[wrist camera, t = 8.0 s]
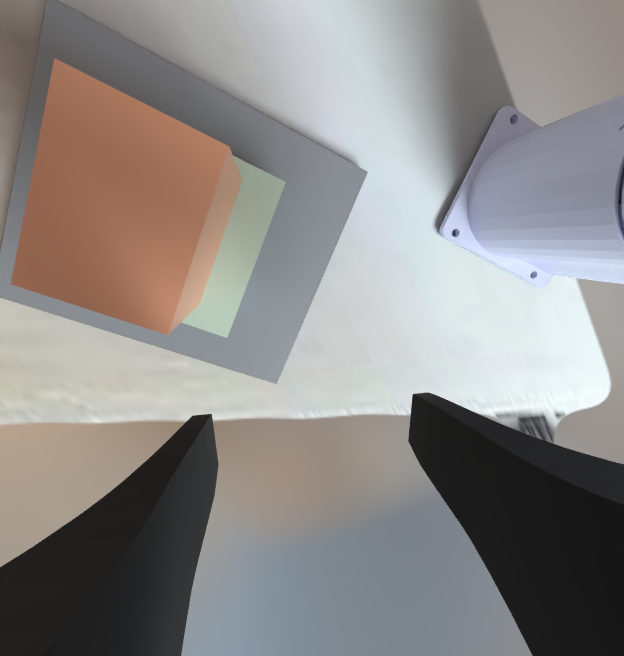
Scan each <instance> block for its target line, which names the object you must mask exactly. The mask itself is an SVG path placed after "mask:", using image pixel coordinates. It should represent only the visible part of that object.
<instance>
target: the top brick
mask: <svg viewBox="0 0 624 656" xmlns="http://www.w3.org/2000/svg"><path fill="white" fill-rule="evenodd" d="M241 183H242V179H241V176H240V174H239V171H238V168H237V166H236V163H235V160H234V158H233V155H232V152H231V149H230V147H229V146H228V145H226V144H224V143H222V142H220V141H218V140H216V139H214V138H212V137H210V136H208V135H206V134H204V133H202V132H200V131H198V130H196V129H194V128H192V127H190V126H188V125H186V124H184V123H182V122H180V121H178V120H176V119H174V118H172V117H170V116H168V115H166V114H164V113H162V112H160V111H158V110H156V109H154V108H152V107H150V106H148V105H146V104H145V103H143V102H141V101H139V100H137V99H135V98H133V97H131V96H129V95H127V94H125V93H123V92H121V91H119V90H117V89H115V88H113V87H111V86H109V85H107V84H105V83H103V82H101V81H99V80H97V79H95V78H93V77H91V76H89V75H87V74H85V73H83V72H81V71H79V70H77V69H75V68H73V67H71V66H69V65H67V64H65V63H63V62H61V61H59V60H57V59H55V58H54V63H53V68H52V73H51V78H50V83H49V88H48V94H47V99H46V104H45V109H44V114H43V119H42V125H41V130H40V135H39V140H38V145H37V150H36V156H35V161H34V166H33V171H32V176H31V181H30V186H29V192H28V197H27V202H26V207H25V212H24V217H23V223H22V228H21V233H20V238H19V243H18V248H17V254H16V259H15V264H14V269H13V274H12V279H11V285H14V286H17V287H20V288H24V289H27V290H30V291H33V292H36V293H39V294H42V295H45V296H48V297H51V298H55V299H58V300H61V301H64V302H67V303H70V304H73V305H76V306H79V307H82V308H85V309H89V310H92V311H95V312H98V313H101V314H104V315H107V316H110V317H113V318H116V319H119V320H123V321H126V322H129V323H132V324H135V325H138V326H141V327H144V328H147V329H150V330H154V331H157V332H160V333H163V334H166V335H169V334H170V333H171V332H172V331H173V330H174V329H175V328H176V327H177V326H178V325H179V324H180V323H181V322H182V321H183V320H184V319H185V318H186V317H187V316H188V315H189V314H190V313H191V312H192V311H193V310H194V309H195V308H196V307H197V306H198V305H199V304H200V302H201V299H202V296H203V294H204V291H205V288H206V285H207V282H208V279H209V276H210V273H211V270H212V267H213V264H214V261H215V259H216V256H217V253H218V250H219V247H220V244H221V241H222V238H223V235H224V232H225V229H226V226H227V223H228V221H229V218H230V215H231V212H232V209H233V206H234V203H235V200H236V197H237V194H238V191H239V188H240V185H241Z"/></svg>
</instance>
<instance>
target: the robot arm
mask: <svg viewBox="0 0 624 656" xmlns="http://www.w3.org/2000/svg"><path fill="white" fill-rule="evenodd" d="M510 118H512V119H513V123H512V124H511V122H510ZM453 230H455V231H456V234H455V236H454V237H453V236H452V231H453ZM439 233H440V235H441V236H442V237H443V238H445V239H447V240H449V241H451V242H453V243H455V244H457V245H458V246H460V247H462V248H464V249H466V250H468V251H470V252H472V253H474V254H476V255H477V256H479V257H481V258H483V259H485V260H487V261H489V262H491V263H493V264H494V265H496V266H498V267H500V268H502V269H504V270H506V271H508V272H510V273H512V274H513V275H515V276H517V277H519V278H521V279H523V280H525V281H527V282H529V283H531V284H532V285H534V286H537V287H545V286H546V285H547V284H548V283H549V281H550V279H551V278H552V276H553V275H554V276H563V277H571V278H579V279H588V280H596V281H604V282H613V283H621V284H624V94H622V95H619V96H617V97H614V98H612V99H610V100H608V101H605V102H602V103H600V104H597V105H595V106H593V107H590V108H588V109H585V110H583V111H580V112H578V113H576V114H573V115H570V116H568V117H566V118H563V119H561V120H558V121H556V122H553V123H551V124H548V125H546V126H544V127H540V126H538V125H537V124H535V123H534V122H533V121H531V120H530V119H529V118H527V117H526V116H524V115H523V114H522V113H520V112H519V111H517V110H516V109H515V108H513V107H512V106H509V105H508V106H505V107H503V108H501V109H500V110H499V111H498V112H497V114H496V116H495V118H494V120H493V122H492V124H491V126H490V128H489V130H488V132H487V134H486V136H485V138H484V140H483V142H482V144H481V146H480V148H479V150H478V152H477V154H476V156H475V158H474V160H473V162H472V164H471V166H470V168H469V170H468V172H467V174H466V176H465V178H464V180H463V182H462V184H461V186H460V188H459V190H458V192H457V194H456V196H455V198H454V200H453V202H452V204H451V206H450V208H449V210H448V212H447V214H446V216H445V218H444V220H443V222H442V224H441V226H440V229H439ZM531 273H532V276H530V275H531ZM409 443H410V445H411V447H412V449H413V451H414V453H415V455H416V457H417V459H418V461H419V463H420V465H421V467H422V468H423V469H424V471H425V472H426V474H427V476H428V477H429V479H430V480H431V482H432V483H433V485H434V486H435V487H436V489H437V490H438V492H439V493H440V495H441V496H442V498H443V499H444V501H445V502H446V503H447V505H448V506H449V508H450V509H451V511H452V512H453V514H454V515H455V517H456V518H457V519H458V521H459V522H460V524H461V525H462V527H463V528H464V530H465V532H466V533H467V535H468V536H469V538H470V539H471V541H472V543H473V544H474V546H475V548H476V550H477V551H478V553H479V555H480V557H481V559H482V560H483V562H484V564H485V566H486V567H487V569H488V571H489V573H490V574H491V576H492V578H493V580H494V582H495V584H496V586H497V587H498V589H499V591H500V593H501V595H502V597H503V599H504V601H505V603H506V604H507V606H508V608H509V610H510V612H511V613H512V616H513V618H514V619H515V622H516V624H517V626H518V628H519V630H520V632H521V634H522V635H523V637H524V639H525V641H526V643H527V645H528V647H529V649H530V651H531V653H532V655H533V656H624V464H619V463H616V462H612V461H608V460H605V459H601V458H598V457H594V456H591V455H587V454H583V453H580V452H577V451H574V450H570V449H567V448H564V447H561V446H558V445H555V444H552V443H549V442H547V441H544V440H541V439H538V438H535V437H532V436H530V435H527V434H524V433H522V432H519V431H517V430H514V429H512V428H509V427H507V426H505V425H502V424H499V423H497V422H495V421H493V420H490V419H488V418H486V417H484V416H481V415H479V414H477V413H475V412H472V411H470V410H468V409H466V408H464V407H462V406H459V405H457V404H455V403H453V402H450V401H448V400H446V399H444V398H441V397H439V396H436V395H434V394H431V393H419V394H413V397H412V408H411V418H410V430H409ZM217 471H218V459H217V451H216V443H215V436H214V428H213V421H212V414H206V415H196V416H192V417H191V418H190V419H189V420H188V421H187V422H186V423H185V424H184V425H183V426H182V427H181V428H180V429H179V430H178V431H177V432H176V433H175V434H174V435H173V436H172V437H171V438H170V439H169V440H168V441H167V442H166V443H165V444H164V445H163V446H162V447H161V448H160V449H159V450H158V451H156V452H155V453H154V454H153V455H152V456H151V457H150V458H149V459H148V460H147V461H146V462H144V463H143V464H142V465H141V466H140V467H139V468H138V469H137V470H135V471H134V472H133V473H132V474H131V475H130V476H129V477H128V478H126V479H125V480H124V481H123V482H122V483H120V484H119V485H118V486H117V487H116V488H114V489H113V490H112V491H111V492H109V493H108V494H107V495H106V496H104V497H103V498H102V499H101V500H99V501H98V502H96V503H95V504H94V505H92V506H91V507H90V508H88V509H87V510H86V511H84V512H83V513H82V514H80V515H79V516H78V517H76V518H75V519H73V520H72V521H70V522H69V523H67V524H66V525H64V526H63V527H61V528H60V529H59V530H57V531H56V532H54V533H53V534H51V535H50V536H48V537H47V538H45V539H44V540H42V541H41V542H39V543H38V544H36V545H35V546H34V547H32V548H31V549H29V550H27V551H26V552H24V553H22V554H21V555H19V556H18V557H16V558H14V559H13V560H11V561H10V562H8V563H7V564H5V565H4V566H2V567H0V656H181V652H182V646H183V639H184V633H185V627H186V620H187V614H188V608H189V602H190V596H191V590H192V585H193V580H194V576H195V571H196V567H197V563H198V558H199V555H200V551H201V547H202V543H203V539H204V535H205V531H206V527H207V523H208V519H209V515H210V511H211V507H212V502H213V499H214V494H215V487H216V479H217Z"/></svg>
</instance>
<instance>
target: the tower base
mask: <svg viewBox="0 0 624 656" xmlns="http://www.w3.org/2000/svg"><path fill="white" fill-rule="evenodd" d="M54 58H55V59H57V60H59V61H61V62H63V63H65V64H67V65H69V66H71V67H73V68H75V69H77V70H79V71H81V72H83V73H85V74H87V75H89V76H91V77H93V78H95V79H97V80H99V81H101V82H103V83H105V84H107V85H109V86H111V87H113V88H115V89H117V90H119V91H121V92H123V93H125V94H127V95H129V96H131V97H133V98H135V99H137V100H139V101H141V102H143V103H145V104H146V105H148V106H150V107H152V108H154V109H156V110H158V111H160V112H162V113H164V114H166V115H168V116H170V117H172V118H174V119H176V120H178V121H180V122H182V123H184V124H186V125H188V126H190V127H192V128H194V129H196V130H198V131H200V132H202V133H204V134H206V135H208V136H210V137H212V138H214V139H216V140H218V141H220V142H222V143H224V144H226V145H228V146H229V147H230V149H231V152H232V155H233V158H234V160H235V163H236V166H237V168H238V171H239V174H240V176H241V179H242V183H241V185H240V188H239V191H238V194H237V197H236V200H235V203H234V206H233V209H232V212H231V215H230V218H229V221H228V223H227V226H226V229H225V232H224V235H223V238H222V241H221V244H220V247H219V250H218V253H217V256H216V259H215V261H214V264H213V267H212V270H211V273H210V276H209V279H208V282H207V285H206V288H205V291H204V294H203V296H202V299H201V302H200V304H199V305H198V306H197V307H196V308H195V309H194V310H193V311H192V312H191V313H190V314H189V315H188V316H187V317H186V318H185V319H184V320H183V321H182V322H181V323H180V324H179V325H178V326H177V327H176V328H175V329H174V330H173V331H172V332H171V333H170V334H169V335H166V334H163V333H160V332H157V331H154V330H150V329H147V328H144V327H141V326H138V325H135V324H132V323H129V322H126V321H123V320H119V319H116V318H113V317H110V316H107V315H104V314H101V313H98V312H95V311H92V310H89V309H85V308H82V307H79V306H76V305H73V304H70V303H67V302H64V301H61V300H58V299H55V298H51V297H48V296H45V295H42V294H39V293H36V292H33V291H30V290H27V289H24V288H20V287H17V286H14V285H11V279H12V274H13V269H14V264H15V259H16V254H17V248H18V243H19V238H20V233H21V228H22V223H23V217H24V212H25V207H26V202H27V197H28V192H29V186H30V181H31V176H32V171H33V166H34V161H35V156H36V150H37V145H38V140H39V135H40V130H41V125H42V119H43V114H44V109H45V104H46V99H47V94H48V88H49V83H50V78H51V73H52V68H53V63H54ZM367 173H368V172H367V171H365V170H363V169H361V168H360V167H358V166H356V165H354V164H352V163H350V162H349V161H347V160H345V159H343V158H341V157H340V156H338V155H336V154H334V153H332V152H331V151H329V150H327V149H325V148H323V147H322V146H320V145H318V144H316V143H314V142H312V141H311V140H309V139H307V138H305V137H303V136H302V135H300V134H298V133H296V132H294V131H293V130H291V129H289V128H287V127H285V126H284V125H282V124H280V123H278V122H276V121H274V120H273V119H271V118H269V117H267V116H265V115H264V114H262V113H260V112H258V111H256V110H255V109H253V108H251V107H249V106H247V105H246V104H244V103H242V102H240V101H238V100H236V99H235V98H233V97H231V96H229V95H227V94H226V93H224V92H222V91H220V90H218V89H217V88H215V87H213V86H211V85H209V84H208V83H206V82H204V81H202V80H200V79H198V78H197V77H195V76H193V75H191V74H189V73H188V72H186V71H184V70H182V69H180V68H179V67H177V66H175V65H173V64H171V63H170V62H168V61H166V60H164V59H162V58H160V57H159V56H157V55H155V54H153V53H151V52H150V51H148V50H146V49H144V48H142V47H141V46H139V45H137V44H135V43H133V42H132V41H130V40H128V39H126V38H124V37H122V36H121V35H119V34H117V33H115V32H113V31H112V30H110V29H108V28H106V27H104V26H103V25H101V24H99V23H97V22H95V21H94V20H92V19H90V18H88V17H86V16H84V15H83V14H81V13H79V12H77V11H75V10H74V9H72V8H70V7H68V6H66V5H65V4H63V3H61V2H59V1H57V0H47V1H46V7H45V12H44V18H43V23H42V28H41V34H40V39H39V45H38V50H37V55H36V61H35V66H34V72H33V77H32V83H31V88H30V93H29V99H28V104H27V110H26V115H25V121H24V126H23V131H22V137H21V142H20V148H19V153H18V158H17V164H16V169H15V175H14V180H13V186H12V191H11V196H10V202H9V207H8V213H7V218H6V223H5V229H4V234H3V240H2V245H1V251H0V298H3V299H7V300H10V301H13V302H16V303H19V304H23V305H26V306H29V307H32V308H35V309H39V310H42V311H45V312H48V313H51V314H55V315H58V316H61V317H64V318H67V319H71V320H74V321H77V322H80V323H83V324H86V325H90V326H93V327H96V328H99V329H102V330H106V331H109V332H112V333H115V334H118V335H122V336H125V337H128V338H131V339H134V340H138V341H141V342H144V343H147V344H150V345H154V346H157V347H160V348H163V349H166V350H170V351H173V352H176V353H179V354H182V355H186V356H189V357H192V358H195V359H198V360H201V361H205V362H208V363H211V364H214V365H217V366H221V367H224V368H227V369H230V370H233V371H237V372H240V373H243V374H246V375H249V376H253V377H256V378H259V379H262V380H265V381H269V382H272V383H275V384H277V382H278V379H279V377H280V375H281V372H282V370H283V368H284V365H285V363H286V361H287V358H288V356H289V354H290V351H291V349H292V347H293V345H294V342H295V340H296V338H297V335H298V333H299V331H300V328H301V326H302V324H303V321H304V319H305V317H306V314H307V312H308V310H309V307H310V305H311V303H312V300H313V298H314V296H315V293H316V291H317V289H318V286H319V284H320V282H321V279H322V277H323V275H324V272H325V270H326V268H327V265H328V263H329V261H330V259H331V256H332V254H333V252H334V249H335V247H336V245H337V242H338V240H339V238H340V235H341V233H342V231H343V228H344V226H345V224H346V221H347V219H348V217H349V214H350V212H351V210H352V207H353V205H354V203H355V200H356V198H357V196H358V193H359V191H360V189H361V186H362V184H363V182H364V180H365V177H366V175H367Z"/></svg>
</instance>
